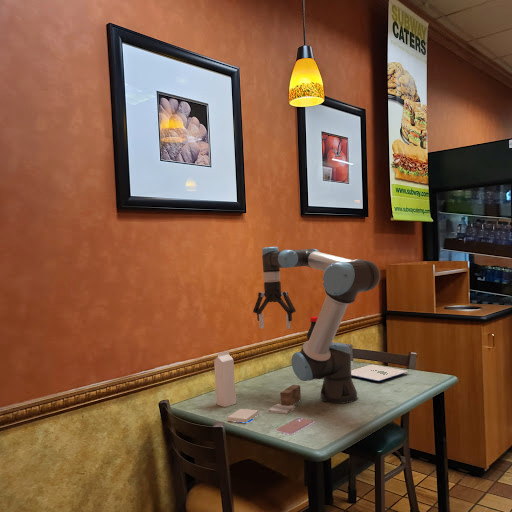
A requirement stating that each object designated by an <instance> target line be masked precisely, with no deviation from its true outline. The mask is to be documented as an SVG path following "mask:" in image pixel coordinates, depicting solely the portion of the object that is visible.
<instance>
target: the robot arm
mask: <svg viewBox="0 0 512 512" xmlns="http://www.w3.org/2000/svg"><path fill="white" fill-rule="evenodd" d="M261 250H262V253H261V254H262V255H261V257H262V258H261V259H262V270H263V274H262V275H263V281H264V282H263V290H264V292H263V291H260V292H258V294H257V296H258V297H257V300H256V302H255V305H254V308H253V311H252V312H253V313H254V314H256V317H257V321H258V323H259V325H258V326H259V329H260V330H261V329H264V328H265V325H264V313H262V312H263V311H264V309H265V308H266V307H267V305H268V304H269V303H278V304H279V305H280V307H282V309H283V310H284V311H285V313H286V314H285V322H286V323H285V324H286V325H285V326H286V330H290V329H292V325H291V324H292V323H291V322H292V321H293V313H296V312H297V310H296V308H295V306H294V304H293V302H292V300H291V299H290V297H289V292H288V291H283V292H282V284H281V283H282V281H281V270H280V269H282V268H284V269H289V268H298V267H308V268H312V269H315V270H319V271H321V272H323V276H322V281H323V282H322V286H323V288H324V293H325V294H326V296H325V299H324V301H323V305H322V306H321V309H320V311H319V314H318V316H317V317H318V319H317V321H316V324H315V326H314V329H313V331H312V334H311V337H310V339H309V341H308V340H306V341H305V342H304V343H303V345H302V347H301V349H300V350H299V351H296V352H294V353H293V354H292V356H291V367H292V370H293V373H294V374H295V376H296V377H297V378H298V379H299V380H300V381H302V382H308V381H309V382H310V381H312V380H313V381H314V380H316V379H322V378H321V377H323V381H322V385H321V389H320V400H322V401H323V402H326V403H332V404H346V403H351V402H354V401H355V400H357V399H358V392H357V390H356V389H357V388H356V386H355V384H354V381H353V379H352V377H353V376H351V370H352V362H351V361H352V359H351V349H350V346H349V345H348V343H347V344H346V343H344V342H342V343H341V342H333V341H334V339H335V336H336V334H337V332H338V330H339V327H340V325H341V323H342V320H343V319H344V315H345V314H346V311H347V308H348V307H349V305H351V304H353V303H354V302H355V301H356V298H357V295H358V294H359V293H364V292H369V291H371V290H374V288H376V287H377V286H378V284H379V283H380V281H381V271H380V268H379V266H378V265H377V264H376V263H374V262H373V261H372V260H368V259H367V260H366V259H361V258H356V259H349V258H346V257H342V256H337V255H333V254H329V253H325V252H320V251H319V249H316V248H307V249H284V250H279V247H278V246H268V247H263V248H262V249H261ZM264 297H265V299H264V300H263V298H264ZM282 297H283V298H282Z"/></svg>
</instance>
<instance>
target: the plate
mask: <svg viewBox="0 0 512 512" xmlns="http://www.w3.org/2000/svg"><path fill="white" fill-rule="evenodd" d="M371 370H372V371H371ZM373 370H374V371H373ZM375 370H377V371H375ZM378 371H384V372H387V373H388V374H387V373H386V374H387V375H386V374H385V375H383V374H380V373H377V372H378ZM408 372H409V371H408V370H405V369H400V368H393V367H388V366H382V365H377V364H368V365H366V366H365V365H364V366H362V367H358V368H355V369H351V376H352V377H357V378H360V379H361V378H362V379H366V380H370V381H376V382H380V381H381V382H382V381H384V380H387V379H391V378H394V377H398V376H401V375H403V374H404V375H405V374H406V373H407V374H408Z"/></svg>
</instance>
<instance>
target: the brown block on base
mask: <svg viewBox="0 0 512 512" xmlns="http://www.w3.org/2000/svg"><path fill="white" fill-rule="evenodd" d="M279 395H280V403H276V404H274V405H273V406H271V407H270V408H268V410H267V411H268V413H271V412H275V413H274V414H279V413H285V414H284V415H288V414H289V413H291V412H292V411H293V410H295V409H296V405H295V403H296V404H297V403H298V402H300V401H301V400H302V393H301V385H299V384H292V385H289V387H287V388H285V389H284V390H282V391H281V392H280V394H279ZM299 400H300V401H299ZM294 408H295V409H294ZM292 409H293V410H292ZM291 410H292V411H291ZM290 411H291V412H290ZM288 412H289V413H288ZM287 413H288V414H287Z"/></svg>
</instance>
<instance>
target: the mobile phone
mask: <svg viewBox="0 0 512 512" xmlns="http://www.w3.org/2000/svg"><path fill="white" fill-rule="evenodd" d="M312 423H313V424H315V421H314V420H313V419H312V420H311V419H308V418H307V419H306V418H303V417H298V418H296V419H294V420H292V421H290V422H288V423H285V424H284V425H282V426H279V427H277V428H275V430H276V431H278V432H277V433H279V432H281V433H280V434H283V433H285V434H284V435H287V434H289V435H288V436H293V435H295V434H297V433H299V432H300V430H301V429H302V430H304V429H306V428H308V427H309V425H310V426H311V425H313V424H312ZM307 426H308V427H307ZM305 427H306V428H305ZM303 428H304V429H303ZM302 430H301V431H302ZM276 431H275V432H276ZM298 431H299V432H298ZM296 432H297V433H296ZM294 433H295V434H294ZM292 434H293V435H292Z"/></svg>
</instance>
